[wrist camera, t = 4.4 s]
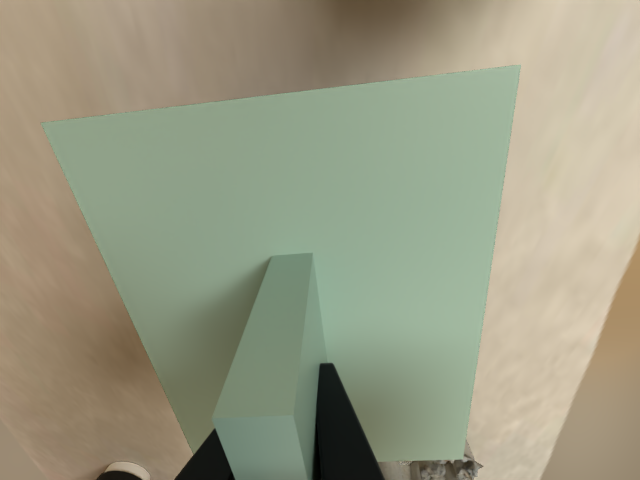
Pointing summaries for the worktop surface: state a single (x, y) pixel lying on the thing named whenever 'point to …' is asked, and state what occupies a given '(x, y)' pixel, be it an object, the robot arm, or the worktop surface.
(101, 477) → the dixie cup
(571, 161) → the worktop surface
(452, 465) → the egg carton
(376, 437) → the lid
